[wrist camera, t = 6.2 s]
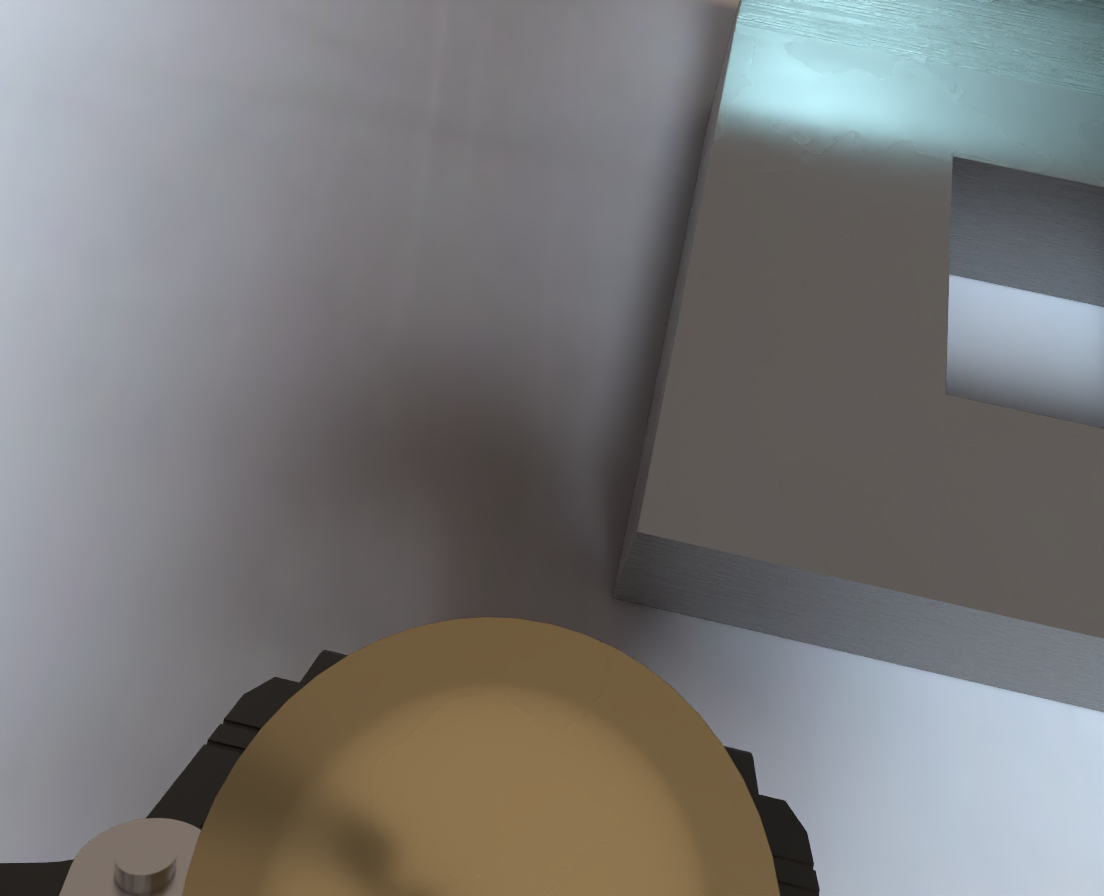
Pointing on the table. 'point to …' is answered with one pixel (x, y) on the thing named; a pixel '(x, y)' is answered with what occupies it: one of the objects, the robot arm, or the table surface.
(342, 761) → the brass cylinder
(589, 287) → the table surface
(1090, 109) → the jig
